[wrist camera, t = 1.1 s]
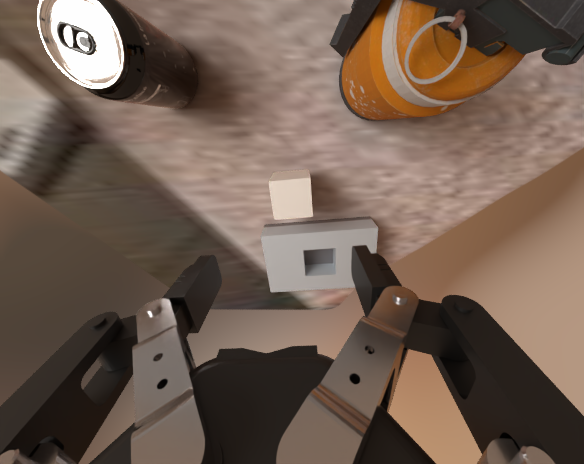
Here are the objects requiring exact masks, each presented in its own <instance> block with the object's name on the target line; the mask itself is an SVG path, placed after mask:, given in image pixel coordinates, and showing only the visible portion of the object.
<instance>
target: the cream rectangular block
mask: <svg viewBox="0 0 584 464" xmlns="http://www.w3.org/2000/svg"><path fill="white" fill-rule="evenodd" d="M269 188H270V195H271V202H272V208H273V215H274V220H280V219H292V218H305V217H313V211H312V194H311V178H310V173H309V169H304V170H294V171H284V172H273V174H272V176H271V178H270V180H269Z"/></svg>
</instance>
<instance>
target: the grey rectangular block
mask: <svg viewBox="0 0 584 464" xmlns="http://www.w3.org/2000/svg"><path fill="white" fill-rule="evenodd" d="M377 237H378V227H377V225H376V224H375V223H374V222H373V220H372V219H371V218H370V217H357V218H344V219H332V220H319V221H307V222H294V223H281V224H269V225H265V226H264V229H263V232H262V234H261V241H262V246H263V252H264V257H265V263H266V268H267V274H268V279H269V285H270V290H271V292H284V291H301V290H319V289H337V288H354V287H355V285H354V282H353V279H352V273H351V259H352V246H359V245H367V247H368V249H369V251H370V252H371V253H376V250H377Z"/></svg>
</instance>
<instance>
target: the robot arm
mask: <svg viewBox="0 0 584 464" xmlns="http://www.w3.org/2000/svg"><path fill="white" fill-rule="evenodd" d="M351 273H352V279H353V282H354V285H355V288H356V290H357V293H358V296H359V299H360V302H361V305H362V308H363V310H364V313H365V316H366V317H365V316H363V317H362V318H361V319H360V320H359V322H358V324H357V325H356V327H355V328H354V330H353V332H352V333H351V335H350V336H349V338H348V340H347V341H346V343H345V345H344V346H343V348H342V349H341V351H340V353H339V354H338V356H337V357H336V359H335V360H333V359H331V358H329V357H327V356H324V355H321V354H317V346H292V347H288V348H285V349H281V350H278V351H274V352H271V353H262V352H257V351H253V350H248V349H244V348H237V349H220V350H219V352H218V355H217V357H216V358H214V359H212V360H209V361H208V362H205V363H203V364H201V365H200V366H198V367H197V368H196V365H195V362H194V359H193V356H192V352H191V349H190V346H189V343H188V341H187V338H186V337H187V335H188V334H189V333H198V332H199V330H200V328H201V326H202V324H203V322H204V320H205V318H206V316H207V314H208V312H209V310H210V308H211V306H212V304H213V301H214V299H215V297H216V295H217V293H218V291H219V289H220V287H221V283H222V278H221V274H220V270H219V267H218V263H217V260H216V257H215V256H214V255H205V256H200V257H199V258H198V259H197V261H196V262H195V263H194V265H191V266H189V267H188V268H187V269H185V270H184V271H183V272H182V274H181V275H180V277H178V279H177V280H176V282H174V284H173V285H172V286H171V287H170V289H169V290H168V291H167V293H166V294H165V295H164V296H163V298H161V299H157V300H154V301H151V302H150V303H148V304H146V305H144V306H143V307H142V308H141V309H140V310H139V311H138V313H137V315H134V316H130V317H127V318H123V319H120V318H119V316H118V314H117V313H116V312H106V313H103V314H100V315H98V316H96V317H94V318H92V319H90V320H89V321H87V322H86V323H85V324H84V325H83V326H82V327H81V328H80V329H79V330H78V331H77V332H76V333H75V334H74V335H73V336H72V337H71V338H70V339H69V340H68V341H66V342H65V343H64V344H63V345H62V346H61V347H60V348H59V350H58V351H56V352H55V353H54V354H53V355H52V356H51V357H50V358H49V359H48V360H47V361H46V362H45V363H44V364H43V365H42V366H41V367H40V368H39V369H38V370H37V371H36V372H35V373H34V374H33V375H32V376H31V377H30V378H29V379H28V380H27V381H26V382H25V383H24V384H23V385H22V386H21V387H20V388H19V389H18V390H17V391H16V392H15V393H14V394H13V395H12V396H11V397H10V398H9V399H8V400H6V401H5V402H4V403H3V404H2V405H1V406H0V464H78V463H79V461H80V460H81V458H82V457H83V455H84V453H85V452H86V450H87V448H88V447H89V445H90V443H91V442H92V440H93V439H94V437H95V435H96V433H97V432H98V430H99V429H100V427H101V426H102V424H103V422H104V420H105V419H106V417H107V416H108V414H109V412H110V411H111V409H112V408H113V406H114V404H115V403H116V401H117V399H118V398H119V396H120V395H121V393H122V391H123V390H124V388H125V386H126V385H127V383H128V381H129V380H130V378H131V377H132V375H133V377H134V378H133V379H134V405H135V423H133V424H132V425H131V426H130V427H129V428H128V429H127V430H126V431H125V432H124V433H122V434H121V435H120V436H119V437H118V438H117V439H116V440H115V441H114V442H112V444H110V445H109V446H108V447H107V448H106V449H105V450H104V451H103V452H101V453H100V454H99V455H98V456H97V457H96V458H95V459H94V460H93V461H92V462H90V463H89V464H436V463H435V462H434V461H433V460H432V459H431V458H430V457H429V456H428V455H427V454H426V453H425V451H424V450H423V449H422V448H421V447H420V446H419V445H418V444H417V443H416V442H415V441H414V440H413V439H412V438H411V437H410V436H409V434H408V433H407V432H405V430H404V429H403V428H402V427H401V426H400V425H399V424H398V423H397V422H396V421H395V420H394V419H393V418H392V416H391V415H390V414H389V413H388V412H389V408H390V406H391V402H392V399H393V396H394V392H395V388H396V385H397V382H398V379H399V376H400V373H401V370H402V367H403V364H404V361H405V358H406V356H407V353H408V350H409V349H411V350H415V351H419V352H423V353H427V354H431V355H432V357H433V359H434V361H435V363H436V365H437V367H438V369H439V371H440V373H441V375H442V377H443V378H444V381H445V382H446V384H447V386H448V388H449V390H450V392H451V394H452V396H453V398H454V400H455V402H456V404H457V406H458V408H459V410H460V412H461V414H462V416H463V417H464V420H465V422H466V424H467V425H468V427H469V429H470V431H471V433H472V435H473V437H474V439H475V441H476V443H477V445H478V447H479V449H480V451H481V453H482V456H481V458H480V459H479V461H478V462H477V464H584V416H583V415H582V414H581V413H580V412H579V411H578V409H577V408H575V406H574V405H573V404H572V403H571V402H570V401H569V400H568V399H567V398H566V397H565V395H564V394H563V393H562V392H561V391H560V390H559V389H558V388H557V387H556V386H555V385H554V384H553V382H552V381H551V380H550V379H549V378H548V377H547V376H546V375H545V374H544V373H543V372H542V371H541V370H540V368H539V367H538V366H537V365H536V364H535V363H534V362H533V361H532V360H531V359H530V358H529V357H528V356H527V354H526V353H525V352H524V351H523V350H522V349H521V348H520V347H519V346H518V345H517V344H516V343H515V342H514V340H513V339H512V338H511V337H510V336H509V335H508V334H507V333H506V332H505V331H504V330H503V328H502V327H501V326H500V325H499V324H498V323H497V322H496V321H495V320H494V319H493V318H492V317H491V316H490V314H489V313H488V312H487V311H486V310H485V309H484V308H483V307H482V306H481V305H479V304H478V303H477V302H475V301H473V300H471V299H469V298H467V297H464V296H459V295H449V296H446V297H444V298H443V300H442V303H436V302H430V301H424V300H420V299H418V297H417V295H416V294H415V293H414V292H413V291H411V290H409V289H407V288H405V287H402V285H401V284H400V282H399V281H398V279H397V278H396V276H395V274H394V273H393V272H392V270H391V268H390V267H389V265H388V264H387V262H386V260H385V259H384V258H383V257H382V256H380V255H379V254H377V253H371V252H370V251H369V249H368V247H367V245H359V246H352V259H351ZM96 359H97V360H98V361H99V363H101V365H102V366H101V367H100V369H99V370H98V371H97V372H96V374H95V375H94V376H93V378H92V379H91V380H90V382H89V383H88V384H87V385H86V387H85V388H84V390H82V388H81V381H82V378H83V376H84V374H85V373H86V372H87V371H88V369H89V368H90V367H91V365H92V364H93V363H94V362H95V361H96Z"/></svg>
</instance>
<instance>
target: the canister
mask: <svg viewBox="0 0 584 464" xmlns="http://www.w3.org/2000/svg"><path fill="white" fill-rule="evenodd" d="M351 8H352V11H351V13H350V14H344V15H342V17H341V19H340V21H339V24H338V26H337V28H336V31H335V33H334V35H333V37H332V40H331V42H330V45H331V46H332V47H333V48H334V49H335V50H336V51H337V52H338V53H339V54H340V55H341V56H342V57H344V58H343V61H342V64H341V68H340V75H339V86H340V92H341V96H342V99H343V101H344V103H345V105H346V106H347V107H348V109H349V110H350V111H351V112H352V113H353V114H355V115H356V116H358V117H360V118H362V119H366V120H384V119H398V118H412V117H425V116H434V115H438V114H441V113H445V112H447V111H449V110H452V109H454V108H456V107H457V106H459V105H461V104H462V103H464V102H466V101H468V100H470V99H472V98H475V97H477V96H479V95H481V94H482V93H484V92H486V91H487V90H489V89H491V88H492V87H493V86H494V85H496V84H497V83H498V82H500V81H501V80H502V79H503V78H504V77H505V76H506V75H507V74H508V73H509V72H510V71H511V70H512V69H513V68H514V67H515V66H516V65H517V64H518V63H519V62H520V61H521V60H522V58H523V57H524V56H525V55H526V54H527V53H531V52H534V51H537V50H540V49H543V48H546V47H547V48H546V49H545V50H544V52H543V53H542V57H543V59H544V60H545V61H547V62H549V63H551V64H555V65H570V64H574V63H576V62H577V61H578V60H579V59H580V58H581V56H582V55H583V54H584V0H354V2H353V4H352V6H351Z"/></svg>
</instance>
